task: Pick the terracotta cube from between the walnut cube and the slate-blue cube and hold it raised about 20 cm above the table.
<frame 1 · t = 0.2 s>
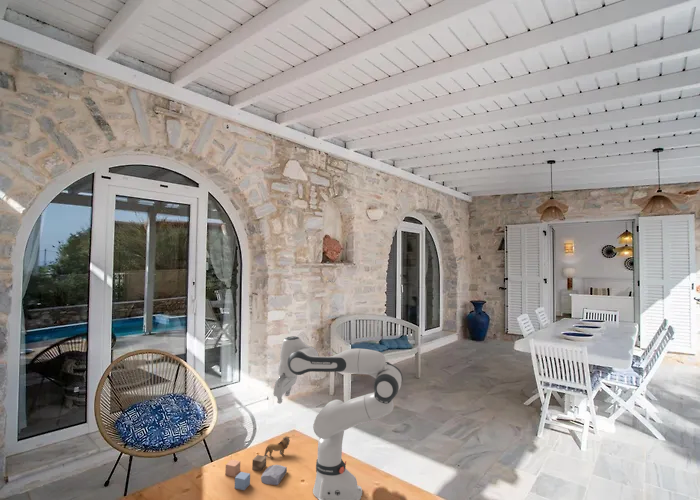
hand: (283, 399, 186), 39 cm above the table, tool pointing down, fingers open, 8 cm apart
slate-blue cube: (242, 486, 181), on the table
stone block: (273, 478, 189), on the table
terracotta cube: (232, 473, 192), on the table
lion figurine: (276, 455, 209), on the table
walnut cube: (259, 468, 197), on the table
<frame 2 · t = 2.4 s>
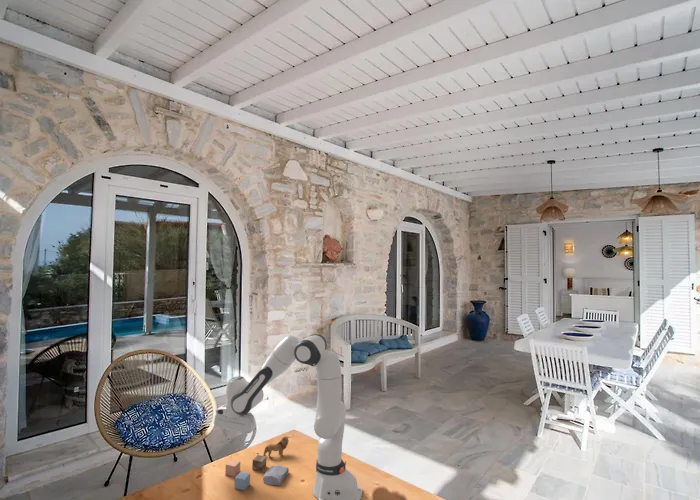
hand: (233, 438, 192), 17 cm above the table, tool pointing down, fingers open, 8 cm apart
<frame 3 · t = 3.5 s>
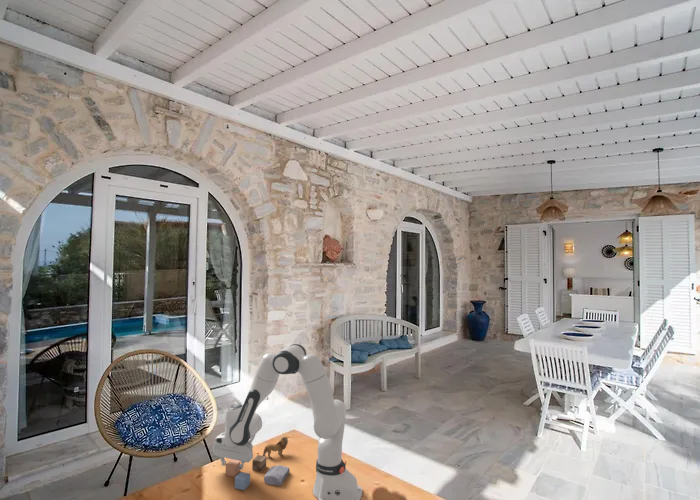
hand: (232, 466, 192), 3 cm above the table, tool pointing down, fingers open, 8 cm apart
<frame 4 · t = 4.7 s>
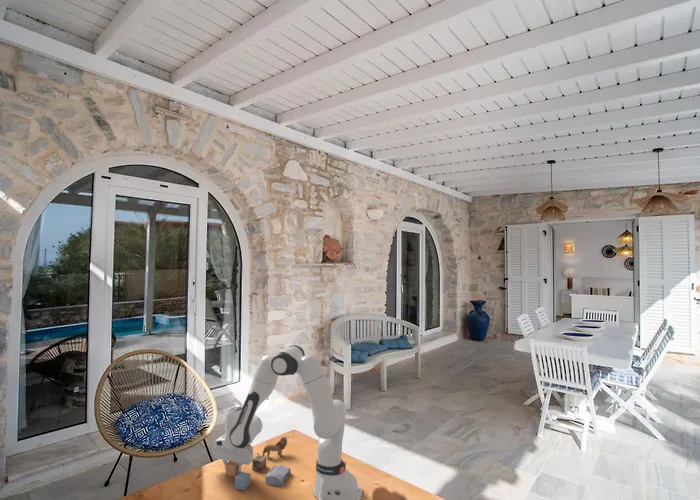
hand: (232, 469, 192), 2 cm above the table, tool pointing down, fingers closed on terracotta cube, 5 cm apart
terracotta cube: (232, 472, 192), on the table, touching gripper
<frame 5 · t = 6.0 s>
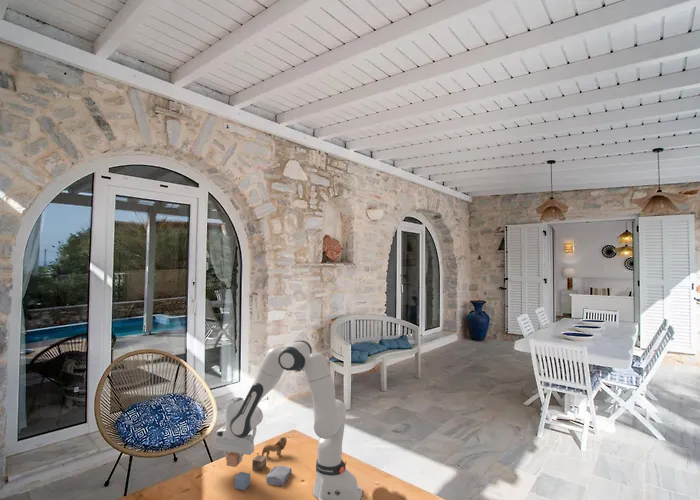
hand: (233, 460, 192), 6 cm above the table, tool pointing down, fingers closed on terracotta cube, 5 cm apart
terracotta cube: (233, 463, 192), point 5 cm above the table, touching gripper
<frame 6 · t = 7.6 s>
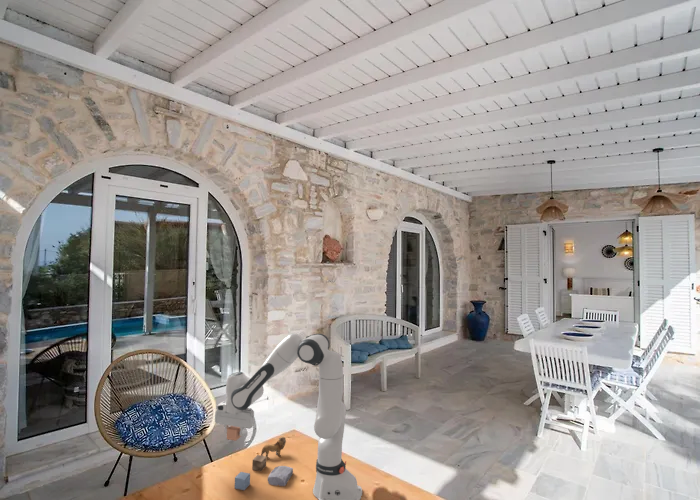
hand: (234, 434, 192), 19 cm above the table, tool pointing down, fingers closed on terracotta cube, 5 cm apart
terracotta cube: (234, 437, 192), point 17 cm above the table, touching gripper
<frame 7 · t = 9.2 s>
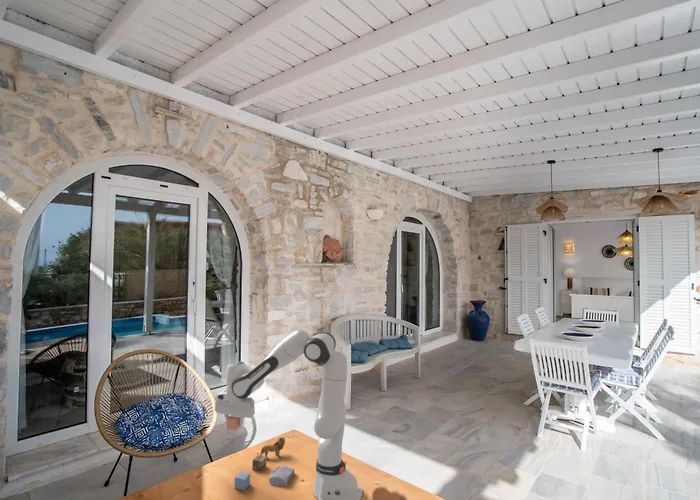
hand: (234, 423, 192), 24 cm above the table, tool pointing down, fingers closed on terracotta cube, 5 cm apart
terracotta cube: (234, 427, 192), point 22 cm above the table, touching gripper
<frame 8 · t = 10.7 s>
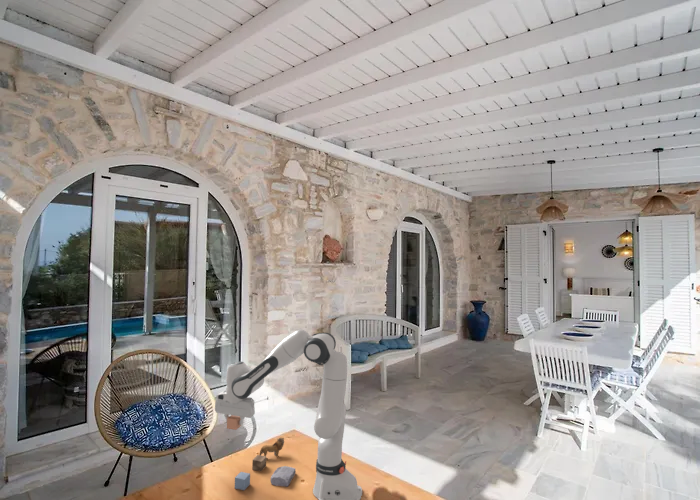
hand: (234, 423, 192), 24 cm above the table, tool pointing down, fingers closed on terracotta cube, 5 cm apart
terracotta cube: (234, 427, 192), point 22 cm above the table, touching gripper
at the end: the gripper is holding terracotta cube; terracotta cube point 22.4 cm above the table; slate-blue cube moved 0.1 cm from its start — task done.
